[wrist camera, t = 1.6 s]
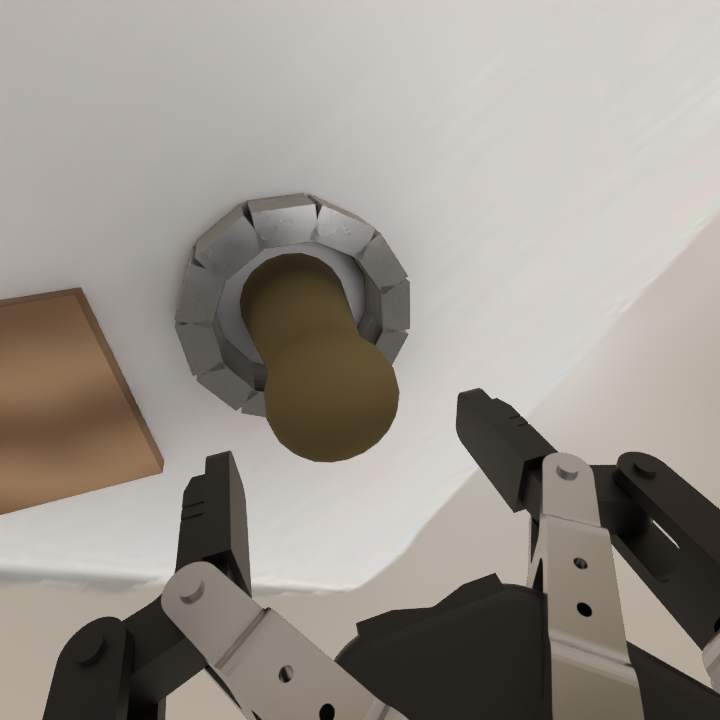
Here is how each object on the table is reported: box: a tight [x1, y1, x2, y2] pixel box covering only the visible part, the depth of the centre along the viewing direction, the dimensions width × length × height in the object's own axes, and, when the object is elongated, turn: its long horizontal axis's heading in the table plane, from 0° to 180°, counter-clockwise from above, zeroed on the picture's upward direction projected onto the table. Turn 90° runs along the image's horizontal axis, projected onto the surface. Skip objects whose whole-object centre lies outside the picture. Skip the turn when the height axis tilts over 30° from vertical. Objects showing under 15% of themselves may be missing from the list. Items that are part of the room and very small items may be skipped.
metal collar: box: [175, 193, 410, 417], centre depth 22 cm, size 12×12×3 cm
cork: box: [240, 253, 399, 462], centre depth 19 cm, size 6×6×11 cm
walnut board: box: [0, 288, 164, 515], centre depth 21 cm, size 12×12×1 cm
